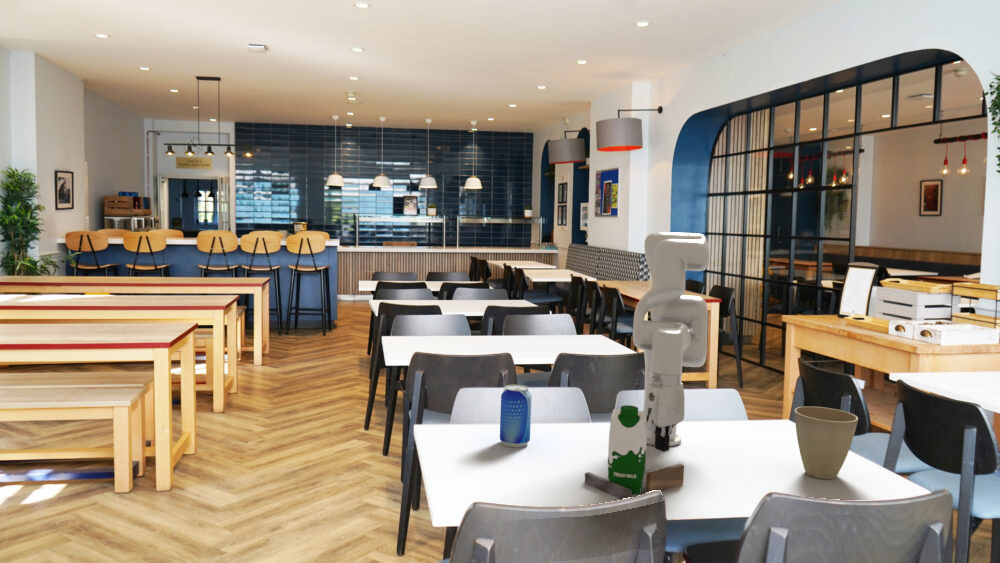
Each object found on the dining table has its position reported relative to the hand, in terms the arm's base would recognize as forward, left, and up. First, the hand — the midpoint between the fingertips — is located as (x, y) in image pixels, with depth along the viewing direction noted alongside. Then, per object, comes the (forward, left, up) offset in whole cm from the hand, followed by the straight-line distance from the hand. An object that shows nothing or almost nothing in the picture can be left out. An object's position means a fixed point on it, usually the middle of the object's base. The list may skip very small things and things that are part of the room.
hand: (661, 449), depth 190 cm
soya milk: (+1, -14, -7) cm, 16 cm away
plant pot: (+22, +36, -7) cm, 43 cm away
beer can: (-39, -16, -7) cm, 43 cm away
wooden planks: (+1, -10, -7) cm, 12 cm away
